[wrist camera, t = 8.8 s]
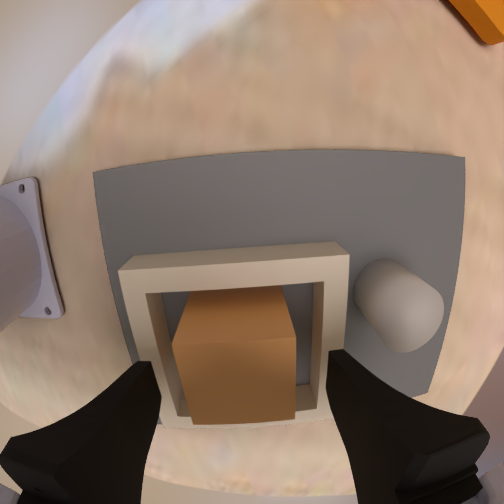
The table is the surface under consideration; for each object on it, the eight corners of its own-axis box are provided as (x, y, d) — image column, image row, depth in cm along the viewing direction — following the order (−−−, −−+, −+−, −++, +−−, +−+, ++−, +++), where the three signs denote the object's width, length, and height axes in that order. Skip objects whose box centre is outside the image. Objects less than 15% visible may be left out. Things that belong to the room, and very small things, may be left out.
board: (157, 413, 17) (143, 465, 13) (101, 171, 13) (49, 177, 9) (421, 384, 17) (449, 426, 13) (454, 156, 13) (511, 161, 9)
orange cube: (203, 360, 15) (193, 424, 10) (191, 289, 14) (171, 344, 9) (282, 355, 15) (295, 419, 11) (279, 283, 14) (296, 336, 9)
